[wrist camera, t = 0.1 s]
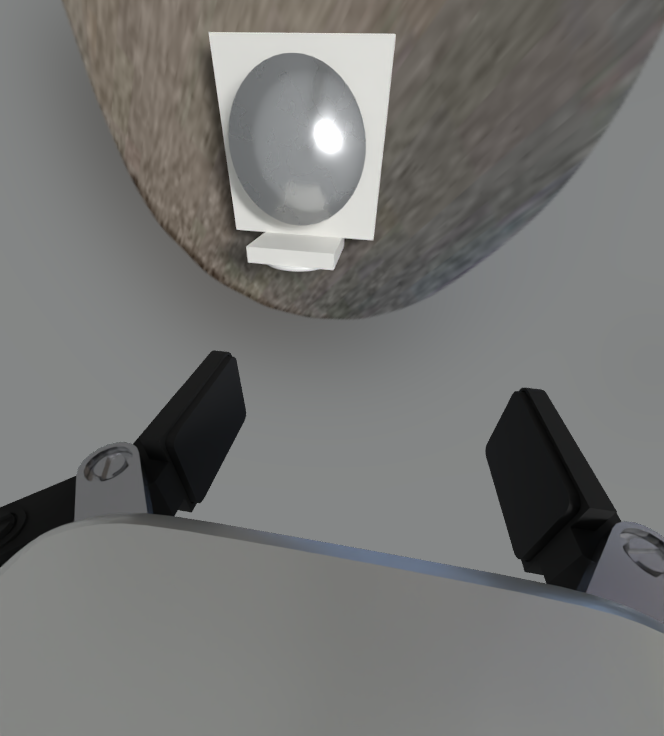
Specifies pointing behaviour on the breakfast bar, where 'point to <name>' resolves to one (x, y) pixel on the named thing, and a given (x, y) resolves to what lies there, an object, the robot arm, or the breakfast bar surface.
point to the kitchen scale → (303, 139)
